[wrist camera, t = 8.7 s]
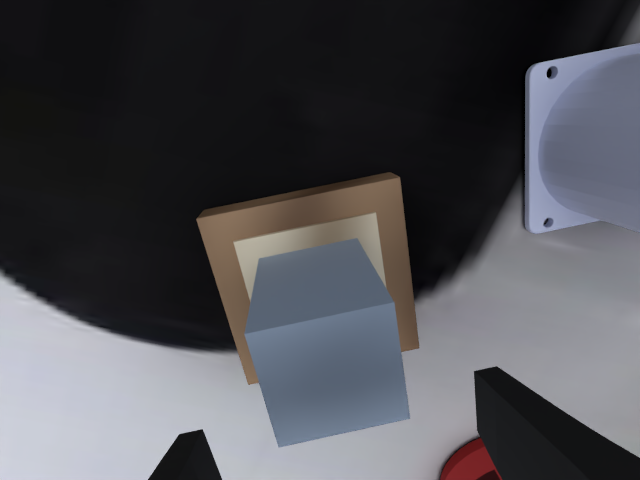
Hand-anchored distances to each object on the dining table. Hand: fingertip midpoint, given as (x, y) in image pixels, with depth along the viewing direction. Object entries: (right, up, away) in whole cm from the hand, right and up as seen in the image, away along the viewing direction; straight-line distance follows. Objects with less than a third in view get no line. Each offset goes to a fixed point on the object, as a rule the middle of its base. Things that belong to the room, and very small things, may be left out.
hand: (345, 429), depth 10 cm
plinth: (-1, +3, +9) cm, 10 cm away
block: (-1, +2, +8) cm, 8 cm away
